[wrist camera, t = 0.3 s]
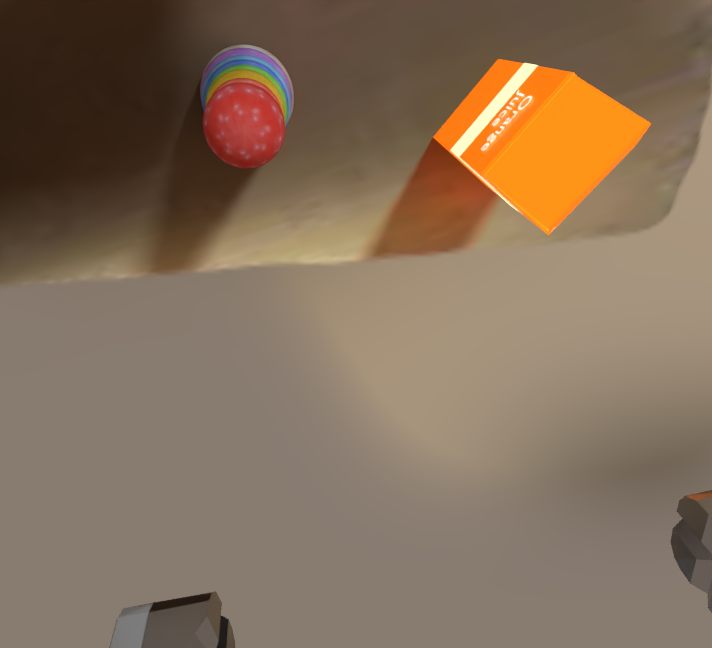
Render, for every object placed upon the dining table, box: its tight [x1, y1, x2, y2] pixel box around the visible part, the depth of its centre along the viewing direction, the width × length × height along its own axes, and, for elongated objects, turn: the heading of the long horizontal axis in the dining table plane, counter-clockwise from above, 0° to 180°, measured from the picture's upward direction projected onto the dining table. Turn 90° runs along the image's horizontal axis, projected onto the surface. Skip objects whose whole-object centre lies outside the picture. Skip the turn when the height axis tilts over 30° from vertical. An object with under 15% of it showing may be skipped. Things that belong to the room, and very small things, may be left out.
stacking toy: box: [200, 45, 294, 168], centre depth 40 cm, size 8×8×19 cm
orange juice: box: [433, 59, 651, 234], centre depth 44 cm, size 8×9×20 cm
